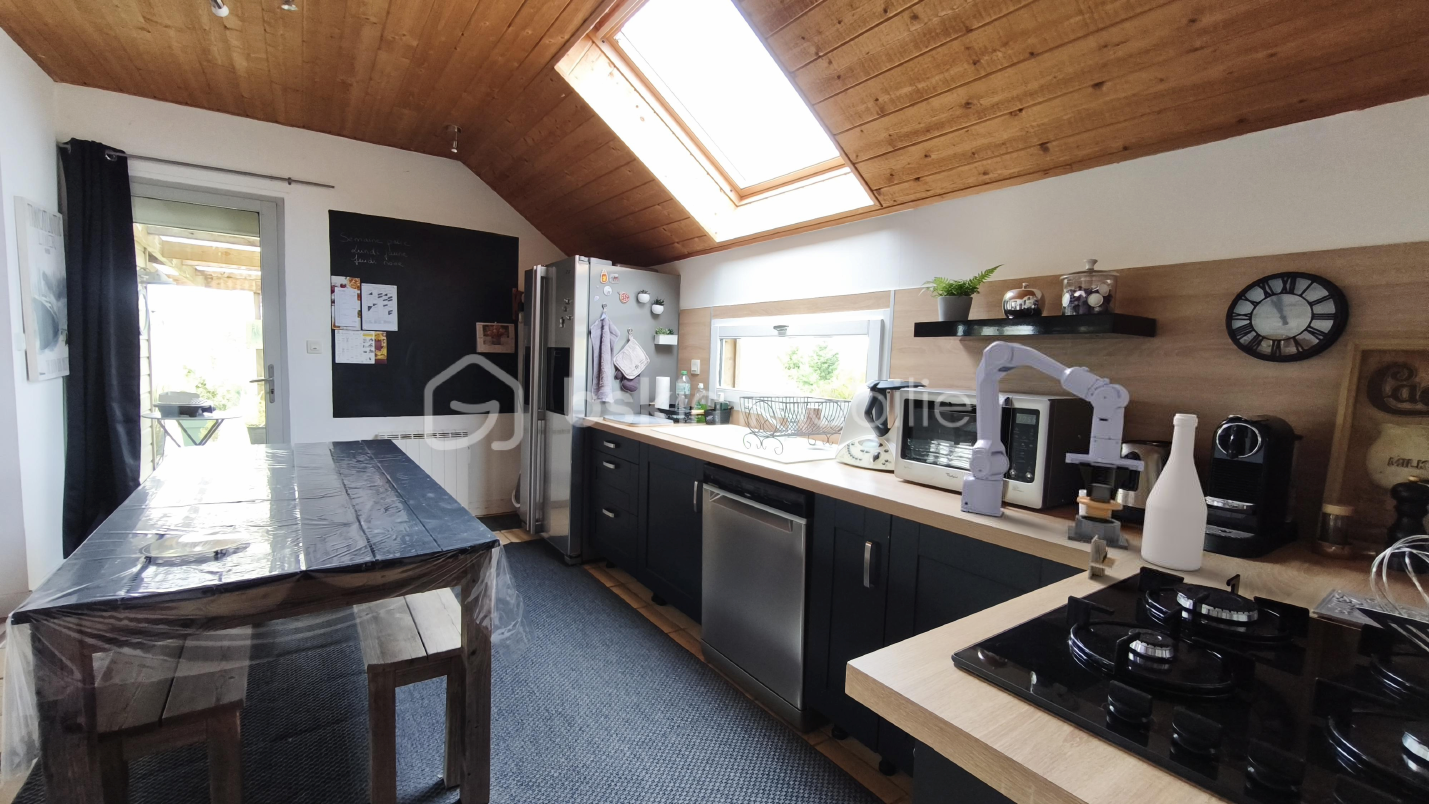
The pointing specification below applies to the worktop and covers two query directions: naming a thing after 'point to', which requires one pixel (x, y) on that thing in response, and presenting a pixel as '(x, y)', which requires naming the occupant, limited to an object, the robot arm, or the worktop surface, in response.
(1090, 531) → the grey bowl on base
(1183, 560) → the wine bottle
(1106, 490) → the cap
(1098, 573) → the architectural model
